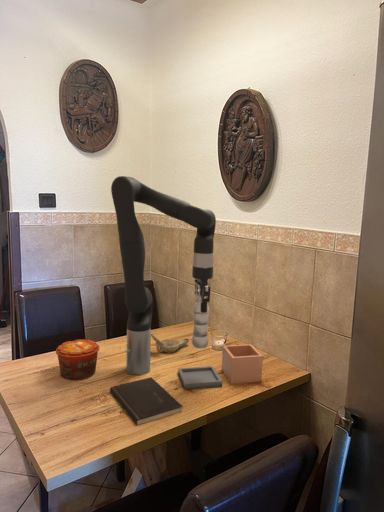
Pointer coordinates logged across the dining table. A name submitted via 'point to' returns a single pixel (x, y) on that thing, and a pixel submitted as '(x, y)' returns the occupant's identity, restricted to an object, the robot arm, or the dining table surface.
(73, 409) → the dining table surface
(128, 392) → the hardcover book
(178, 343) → the oil lamp
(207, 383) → the tray
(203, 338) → the plastic bottle
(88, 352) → the food container
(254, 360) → the pink open box
